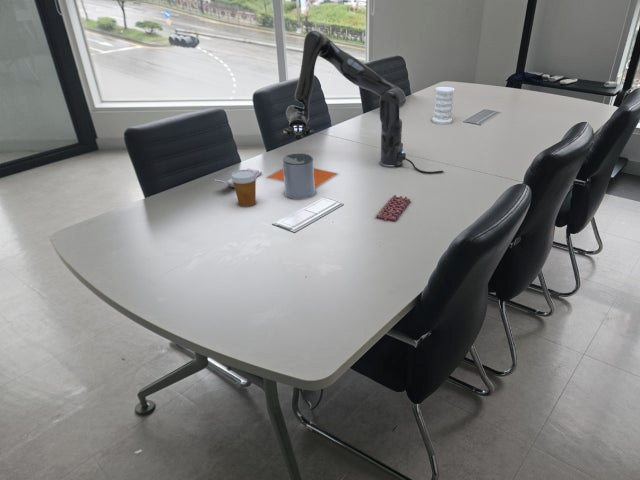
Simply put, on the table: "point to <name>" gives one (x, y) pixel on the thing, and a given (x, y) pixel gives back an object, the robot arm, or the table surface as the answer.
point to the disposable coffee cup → (245, 186)
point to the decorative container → (443, 105)
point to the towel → (319, 176)
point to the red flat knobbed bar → (393, 208)
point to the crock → (298, 176)
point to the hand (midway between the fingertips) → (298, 137)
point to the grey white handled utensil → (232, 181)
